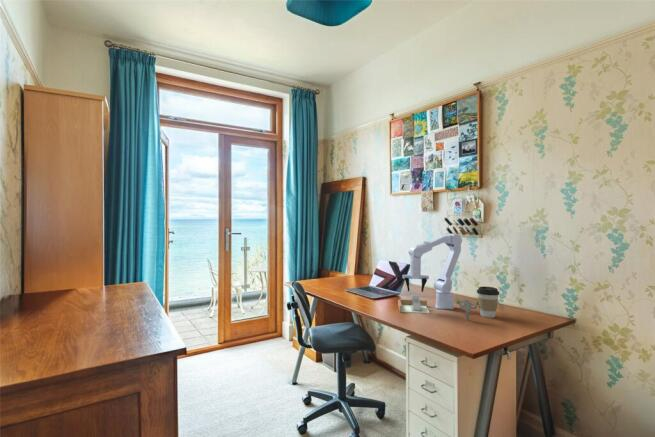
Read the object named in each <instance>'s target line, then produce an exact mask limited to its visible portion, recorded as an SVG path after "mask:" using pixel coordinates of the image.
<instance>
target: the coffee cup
mask: <svg viewBox="0 0 655 437" xmlns="http://www.w3.org/2000/svg"><path fill="white" fill-rule="evenodd" d="M476 293H477V298H478V303H479V305H478V306H479V307H478V308H479V315H480V317H483V318H487V319H494V318H495V317H496V315H497V314H496V313H497V308H498V302H499V296H500V291H499V290H498V288H496V287H492V286H479V287H478V289H476Z"/></svg>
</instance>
